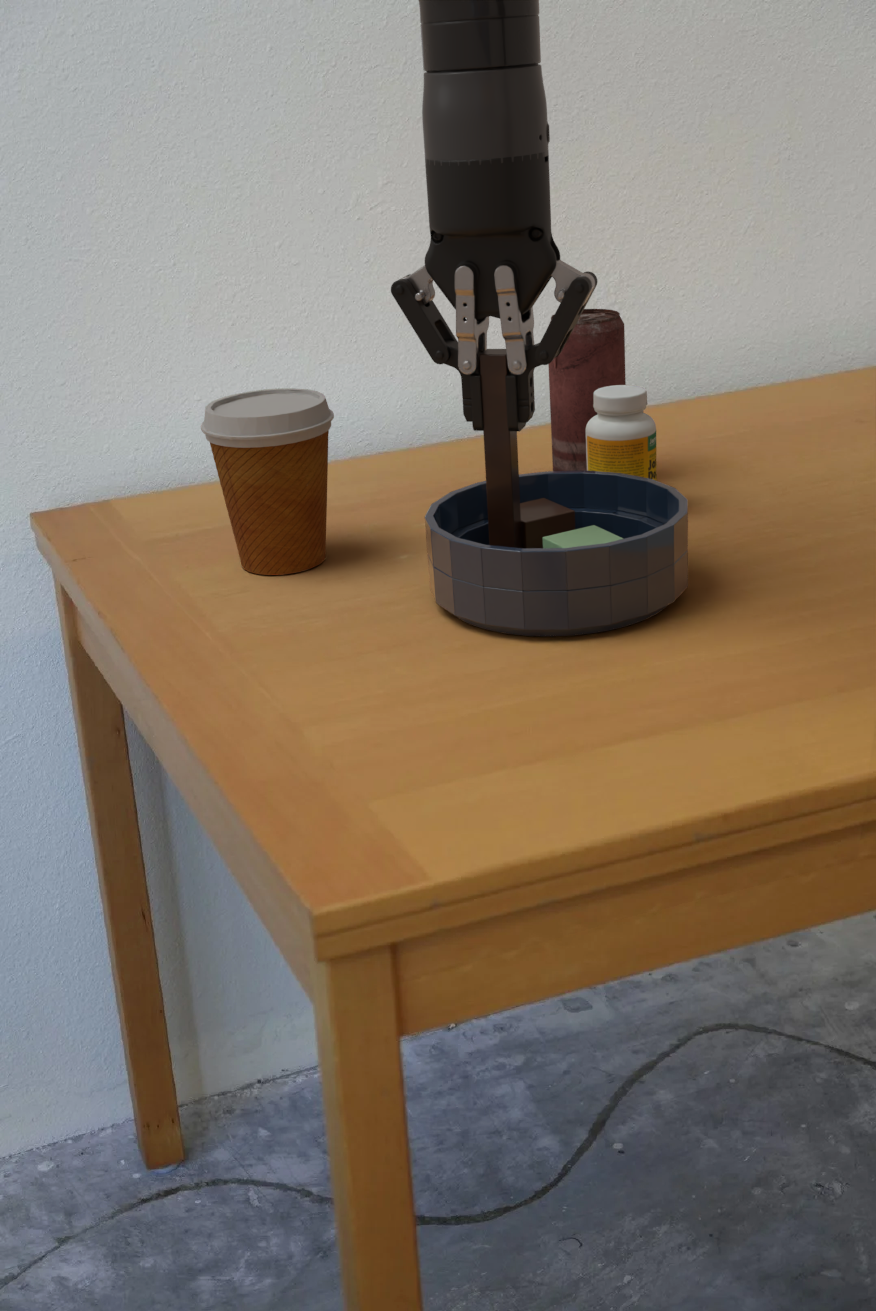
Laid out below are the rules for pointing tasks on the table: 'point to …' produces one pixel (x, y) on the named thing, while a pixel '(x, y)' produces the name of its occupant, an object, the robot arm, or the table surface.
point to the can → (583, 382)
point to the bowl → (562, 557)
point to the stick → (499, 453)
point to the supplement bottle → (621, 433)
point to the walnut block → (543, 521)
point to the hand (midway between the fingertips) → (500, 427)
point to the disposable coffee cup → (273, 475)
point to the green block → (579, 538)
